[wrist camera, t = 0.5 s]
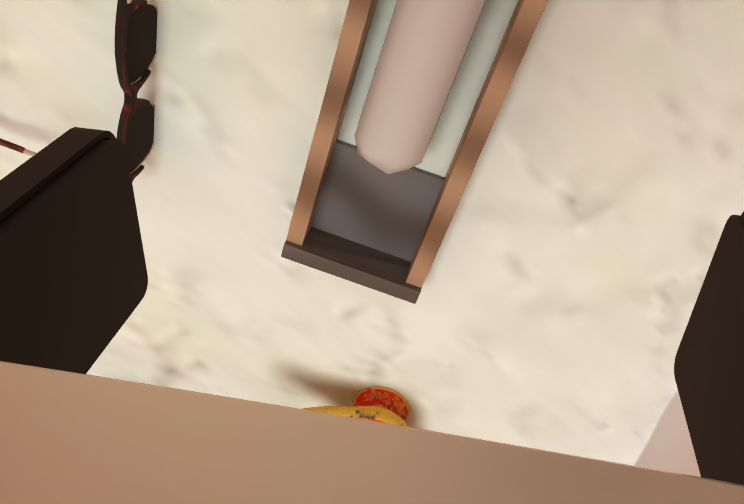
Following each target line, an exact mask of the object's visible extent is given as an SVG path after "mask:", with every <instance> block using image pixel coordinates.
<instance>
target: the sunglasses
mask: <svg viewBox="0 0 744 504" xmlns="http://www.w3.org/2000/svg"><path fill="white" fill-rule="evenodd" d="M157 12H158V9H157V7H156V6H155V5H154V4H152V3H147V1H146V0H118V3H117V12H116V24H115V59H116V68H117V74H118V79H119V83H120V86H121V88H122V89H123V91H124V105H123V108H122V111H121V115H120V119H119V125H118V131H117V139H116V140H117V141H121V142H122V143H123V144H124V146H125V148H126V151H127V157H128V163H129V169H130V175H131V180H132V181H133V180H134V178H135V177H136V176H137V175H138V174H139V173H140V172H141V171H142V170H143V169H144V166H143V165H141V164H142V163H143V161H144V160H145V159H146V158H147V156H148V155H149V153H150V151H151V149H152V147H153V144H154V142H153V139H154V108H155V106H154V105H153V104H152V103H150V101H149V100H146V99H140V98H137V93H138V91H139V89H140V88H141V86H142V85H143V84H144V82H145V81H146V80H147V78H148V77H149V75H150V74H151V71H150V70H148V69H149V68H150V66H151V64H152V63H153V61H154V59H155V56H156V54H157V53H156V37H157ZM0 145H2V146H5V147H7V148H10V149H13V150H16V151H18V152H21V153H24V154H28V155H31V156H34V155H36V154H37V153H35V152H32V151H30V150H27V149H25V148H24V147H22V146H19V145H17V144H14V143H11V142H9V141H6V140H3V139H1V138H0Z"/></svg>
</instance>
